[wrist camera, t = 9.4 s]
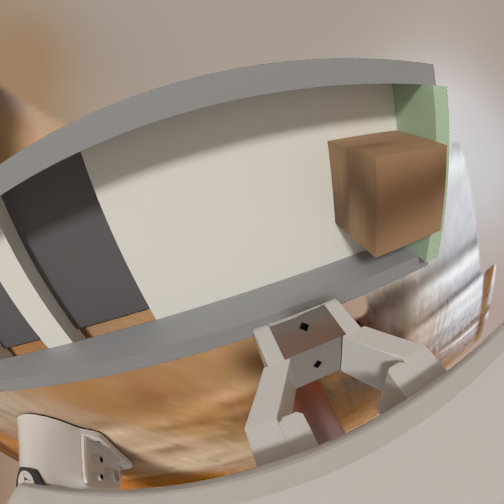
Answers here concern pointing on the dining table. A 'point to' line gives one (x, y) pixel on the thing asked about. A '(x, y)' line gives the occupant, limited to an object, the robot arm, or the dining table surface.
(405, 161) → the walnut block
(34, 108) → the dining table surface
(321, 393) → the beverage can
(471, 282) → the dining table surface
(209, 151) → the trap track
